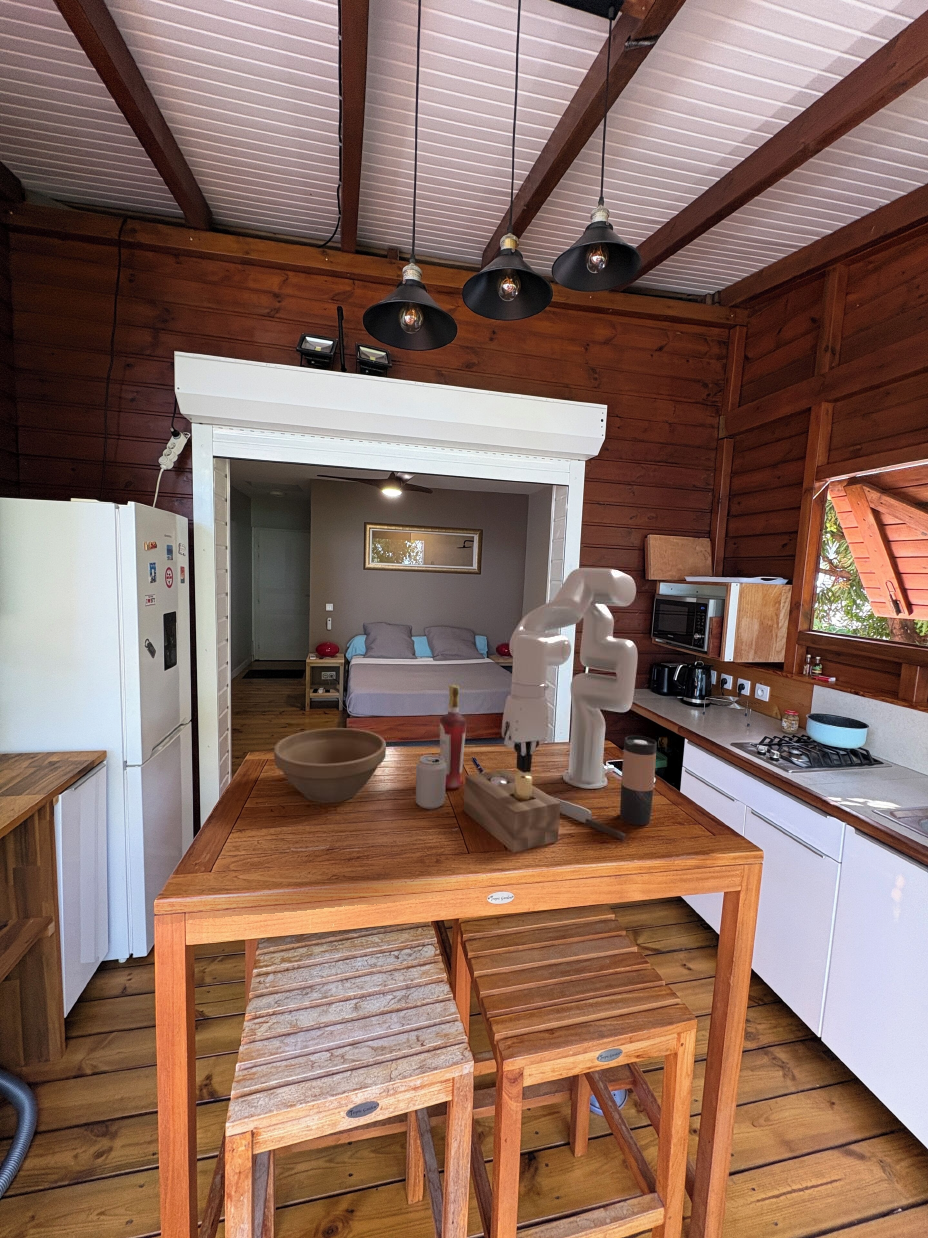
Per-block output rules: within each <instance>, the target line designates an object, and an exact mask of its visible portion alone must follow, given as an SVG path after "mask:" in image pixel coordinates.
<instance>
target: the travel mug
mask: <svg viewBox="0 0 928 1238" xmlns="http://www.w3.org/2000/svg"><path fill="white" fill-rule="evenodd" d="M656 756H657V741H656V740H655V739H654V738H653V739H652V738H650V737H646V736H643V735H629V736H626V737H625V738H624V746H623V757H622V768H621V769H622V770H621V780H620V781H621V782H620V806H619V807H620V808H619V817H620V819H621V820H622V821H623V822H625V823H627V824H631V825H634V826H645V825H648V824H649V823H651V813H652V807H653V805H652V804H653V796H654V789H655V776H656V775H655V773H656V758H657V757H656Z"/></svg>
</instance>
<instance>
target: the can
mask: <svg viewBox="0 0 928 1238" xmlns="http://www.w3.org/2000/svg"><path fill="white" fill-rule="evenodd" d="M415 773H416V774H415V775H416V778H415V803H416V804H417V805H418V806H419V807H420V808H423V809H427V810H429V809H430V810H433V809H439V808H440V807H441V806H442V805H443V804H444V803H445V801H446V789H445V784H446V763H445V762H444V758H443V757H441V756H440V755H438V754H425V755H422V756H421V757H419V761H418V762H417V763H416V772H415Z"/></svg>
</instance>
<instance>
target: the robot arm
mask: <svg viewBox="0 0 928 1238" xmlns="http://www.w3.org/2000/svg"><path fill="white" fill-rule="evenodd" d="M636 594H637V587H636V583H635V580H634V579H633V578H632V576H631V575H628V574H626V573H624V572H622V571H619V570H617V569H613V568H600V567H599V568H598V567H597V568H596V567H595V568H594V567H593V568H592V567H579V568H576V569H573V570H572V571H570V573H569V574H568V575H567V577H566V579H565V580H564V582H563V583H562V585H561V587H560V588H559V590H558V592H557V594H556V595H555V596H554V599H553V600H551V601H549V602H546V603H545V604H543V605H540V606H538V607H537V608H535V609H533V610H532V611H529V612H528V613H527V614H525V616H524V617H522V619H521V620H520V622H519V623H518V625H516V628H515V629H514V631H513V632H512V633H513V634H512V636H511V638H510V641H509V652H510V655H511V657H512V670H511V671H512V675H511V690H510V691H511V693H510V695H507V698H506V700H505V705H504V709H503V715H502V721H501V722H502V724H501V725H502V726H501V736H502V738H504V742H503V745H504V747H506V748H508V749H513V750H514V752H516V768H517V770H519V772H523V773H526V772H527V773H531V771H532V764H533V763H532V761H533V755H535V752H536V749H537V748H538V747H539V745H542V744H544V743H546V742H547V741H546V740H547V736H548V733H549V721H550V720H549V717H550V716H549V704H548V703H549V702H548V697H547V696H546V691H548V690H549V684H547V667H550V666H551V667H559V666H561V665H563V664H565V663H566V662H567V661H568V660H569V658H570V656H571V652H572V645H571V642H570V640H569V639H568V638H567V637H566V636H565V635H563V634H560V633H555V632H549V631H552V630H556V629H557V630H558V629H562V628H567V627H570V626H574V625H576V624H578V623H579V622H580V621H582V619H583V623H582V624H583V625H582V632H581V644H580V649H579V650H580V653H579V659H580V663H581V664H582V666H584V667H586V668H588V669H592V670H593V669H594V670H598V671H604V672H605V671H606V672H614V673H616V676H612V675H605V674H598V673H591V672H582V673H579V674H576V675H575V676H574V677H573V678H572V679H571V683H570V688H569V690H570V701H571V727H570V729H571V731H570V745H569V759H568V760H569V762H568V770H565V771H564V772H563V774H562V779H563V781H564V782H566V784H569V785H571V786H574V787H576V788H580V789H591V790H593V789H597V790H598V789H601V788H604V787H606V786H607V785H608V778H607V776H606V774H607V773H610V772H611V773H612V772H614V771H615V767H614V765H613V764H609V765H605V764H604V752H605V751H604V750H605V737H606V735H605V734H606V721H605V718H604V715H603V713H602V712H601V710H604V711H605V710H606V711H611V712H617V713H625V712H628V711H629V710H630V709H631V707H632V705H633V702H634V695H635V687H636V678H637V677H636V675H637V669H638V658H639V657H638V648H637V646H636V644H635V643H634V642H633V641H632V640H629V639H626V638H617V637H614V636H613V635H614V627H615V626H614V624H615V619H614V617H613V615H612V613H611V611H610V609H609V608H608V607H607V606H611V607H614V606H615V607H628V606H630V605H631V604H632V603H633V602H634V600H635V598H636Z"/></svg>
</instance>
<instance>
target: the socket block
mask: <svg viewBox="0 0 928 1238" xmlns="http://www.w3.org/2000/svg"><path fill="white" fill-rule="evenodd" d="M515 774H516V773H513V772H512V771H511V770H509V769H507V768H503V769H497V770H491V771H486V772H485V771H484V772H480V773H479V772H478V773H474V774H468V775H465V778H464V779H465V780H464V798H463V799H464V800H463V801H464V802H463V811H464V812H465V813H466V814H467V815H469V817H471V819H473V820H474V821H475V822H477V823H478V824H479V825H480V826H481V827H482V828H484V829H485V830H486V831H487V832H488V833H490V834H491V835H492V836H493V837H494V838H496V839H497V841H499V842H500V843H501V844H502V845H503V846H505V847H506V848H507V849H508V850H509V851H511V852H512V853H513V854H515V853H518V852H522V851H526V850H530V849H533V848H534V849H535V848H537V847H540V846H545V845H548V844H552V843H556V842H559V829H560V815H561V814H560V813H561V812H560V802H559V801H557V800H555V799H554V798H555V797H554V798H552V797H553V796H552V797H550V796H551V795H548V794H547V793H545V792H544V791H542V790H541V789H539V788H537V787H536V786H534V785H533V784H532V797H531V800H529V801H524V802H519V801H517V800H516V799H514V782H515ZM493 777H502V778H505V779H506V780H507V784H503V785H497V786H496V785H494V784H493V783H491V778H493Z"/></svg>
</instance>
